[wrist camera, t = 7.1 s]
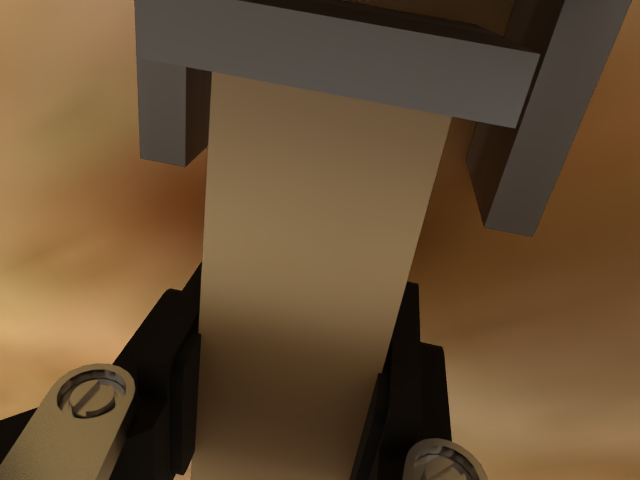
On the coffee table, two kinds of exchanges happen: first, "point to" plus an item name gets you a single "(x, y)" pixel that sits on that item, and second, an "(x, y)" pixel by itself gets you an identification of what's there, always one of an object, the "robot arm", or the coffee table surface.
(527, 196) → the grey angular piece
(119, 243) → the coffee table surface
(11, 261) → the coffee table surface
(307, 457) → the bed rail
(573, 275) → the coffee table surface
